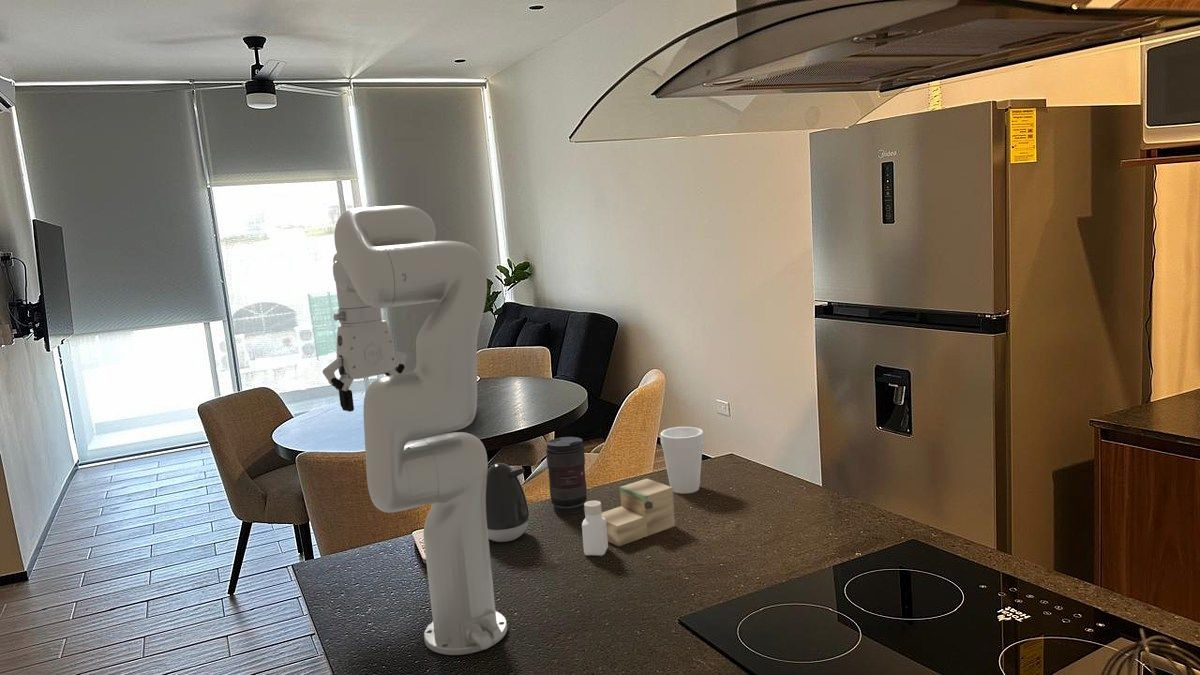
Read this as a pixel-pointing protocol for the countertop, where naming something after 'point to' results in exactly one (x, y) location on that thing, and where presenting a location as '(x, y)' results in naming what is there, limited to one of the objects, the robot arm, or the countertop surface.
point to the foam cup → (683, 457)
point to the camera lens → (567, 474)
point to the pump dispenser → (505, 503)
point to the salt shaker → (594, 529)
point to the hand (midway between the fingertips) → (371, 405)
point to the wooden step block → (640, 512)
